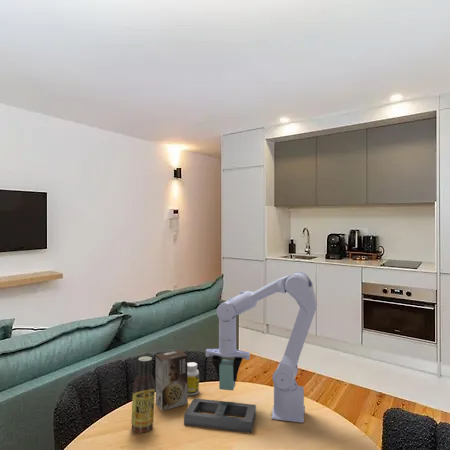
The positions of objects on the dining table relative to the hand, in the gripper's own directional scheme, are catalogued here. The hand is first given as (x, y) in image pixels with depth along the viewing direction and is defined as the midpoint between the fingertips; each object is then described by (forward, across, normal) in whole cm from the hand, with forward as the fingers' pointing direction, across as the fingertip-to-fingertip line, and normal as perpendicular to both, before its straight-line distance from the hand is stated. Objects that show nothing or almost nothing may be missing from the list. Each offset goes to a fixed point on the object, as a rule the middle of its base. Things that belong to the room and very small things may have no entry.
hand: (227, 379), depth 114 cm
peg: (+2, 0, 0) cm, 2 cm away
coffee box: (+8, +18, +4) cm, 20 cm away
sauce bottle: (+8, +21, +19) cm, 29 cm away
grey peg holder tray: (+8, 0, +10) cm, 13 cm away
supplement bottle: (+8, +14, -5) cm, 17 cm away
